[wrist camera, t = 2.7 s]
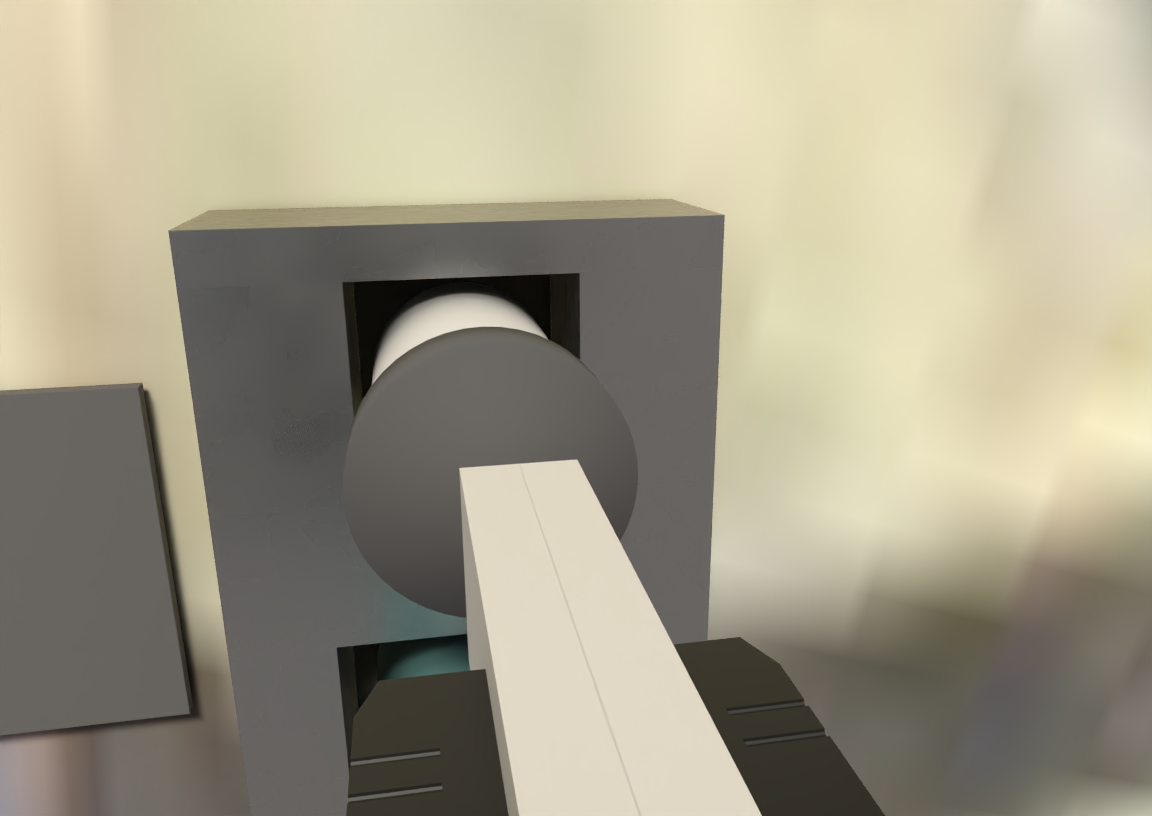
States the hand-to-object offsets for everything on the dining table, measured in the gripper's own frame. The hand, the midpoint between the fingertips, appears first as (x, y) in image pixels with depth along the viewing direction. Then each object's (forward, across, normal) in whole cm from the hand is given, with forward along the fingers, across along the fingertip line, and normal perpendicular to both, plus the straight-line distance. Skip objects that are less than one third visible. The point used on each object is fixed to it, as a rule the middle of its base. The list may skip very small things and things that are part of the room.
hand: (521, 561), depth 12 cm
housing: (+12, 0, -5) cm, 13 cm away
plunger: (+10, 0, 0) cm, 10 cm away
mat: (+12, -12, -5) cm, 18 cm away
